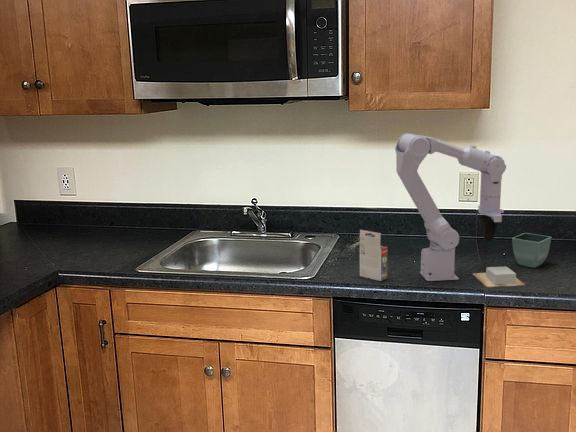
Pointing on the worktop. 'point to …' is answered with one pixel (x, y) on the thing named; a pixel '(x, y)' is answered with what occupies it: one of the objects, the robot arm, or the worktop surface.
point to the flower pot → (531, 249)
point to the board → (488, 283)
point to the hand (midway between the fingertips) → (488, 240)
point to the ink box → (372, 256)
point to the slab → (500, 275)
